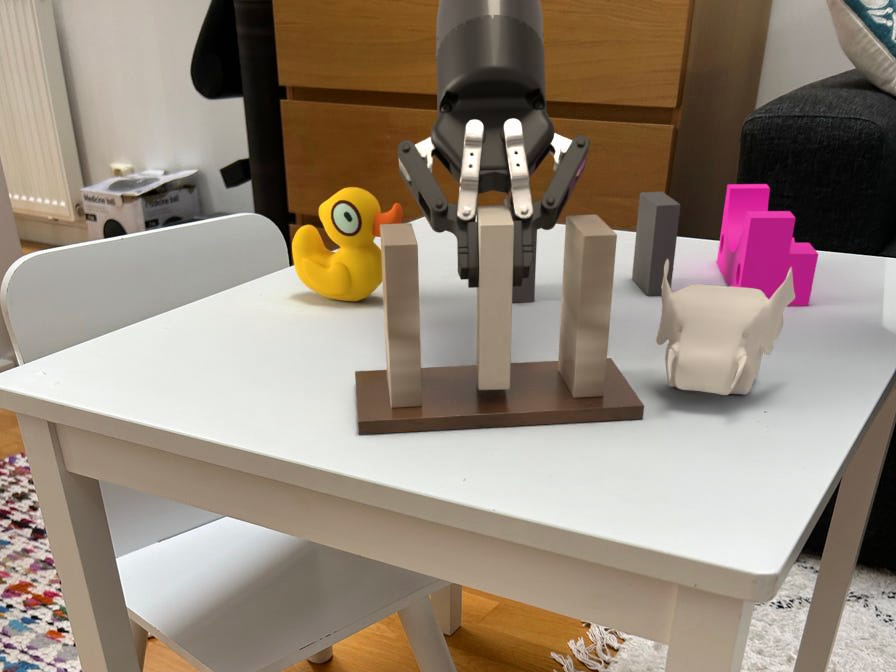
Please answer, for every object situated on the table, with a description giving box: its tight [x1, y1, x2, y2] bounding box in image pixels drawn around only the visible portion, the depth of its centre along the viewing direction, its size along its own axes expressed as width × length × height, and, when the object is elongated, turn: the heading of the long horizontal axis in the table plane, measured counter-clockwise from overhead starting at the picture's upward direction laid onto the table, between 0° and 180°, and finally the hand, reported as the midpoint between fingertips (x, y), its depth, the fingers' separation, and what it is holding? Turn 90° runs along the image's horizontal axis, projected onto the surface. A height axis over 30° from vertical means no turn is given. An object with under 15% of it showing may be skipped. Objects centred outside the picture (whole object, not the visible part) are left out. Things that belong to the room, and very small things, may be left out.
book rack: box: [354, 214, 645, 435], centre depth 70 cm, size 20×10×12 cm, turn 94°
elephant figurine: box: [655, 259, 795, 396], centre depth 71 cm, size 10×12×9 cm
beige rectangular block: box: [475, 204, 514, 390], centre depth 69 cm, size 2×6×11 cm, turn 179°
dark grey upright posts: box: [503, 191, 681, 304], centre depth 94 cm, size 15×6×8 cm, turn 94°
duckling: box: [291, 186, 404, 302], centre depth 93 cm, size 11×5×10 cm, turn 67°
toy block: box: [716, 183, 819, 307], centre depth 94 cm, size 15×6×8 cm, turn 173°
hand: (495, 280), depth 66 cm, fingers closed
